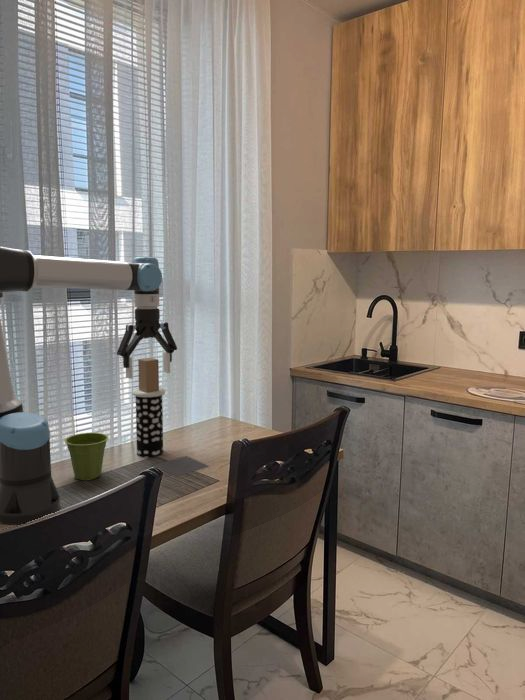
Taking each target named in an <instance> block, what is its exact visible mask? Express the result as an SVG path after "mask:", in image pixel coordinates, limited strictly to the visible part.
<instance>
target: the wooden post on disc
mask: <svg viewBox="0 0 525 700" xmlns="http://www.w3.org/2000/svg"><path fill="white" fill-rule="evenodd" d="M137 361H138V362H137V363H138V366H137V367H138V368H137V369H138V388H134V389H133V390H132V395H133V396H134V397H136V396H137V397H157V396H162V397H163V396H164V395H166V389H165V388H162V387H160V377H159V375H160V374H159V373H160V372H159V371H160V370H159V369H160V368H159V367H160V366H159V359H157V358H152V357H147V358H139V359H138V360H137Z"/></svg>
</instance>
